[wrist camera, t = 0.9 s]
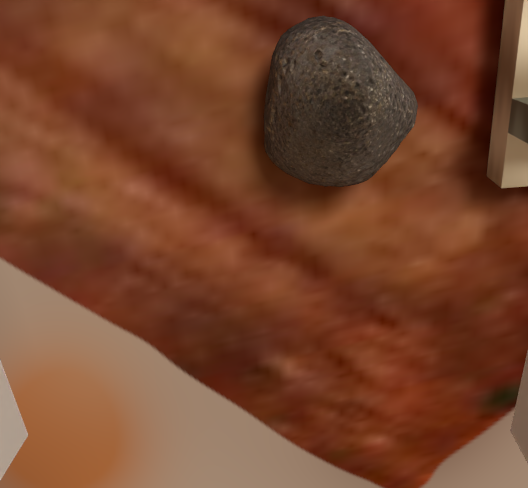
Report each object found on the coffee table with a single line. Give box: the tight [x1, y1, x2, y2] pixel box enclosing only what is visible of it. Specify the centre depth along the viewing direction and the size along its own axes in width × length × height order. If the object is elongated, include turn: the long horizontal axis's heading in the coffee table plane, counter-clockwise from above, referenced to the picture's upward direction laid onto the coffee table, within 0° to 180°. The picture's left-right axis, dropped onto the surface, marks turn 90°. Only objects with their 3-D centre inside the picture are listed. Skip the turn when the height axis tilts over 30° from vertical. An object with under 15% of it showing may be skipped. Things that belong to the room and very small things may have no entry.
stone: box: [264, 16, 418, 187], centre depth 29 cm, size 10×8×10 cm
